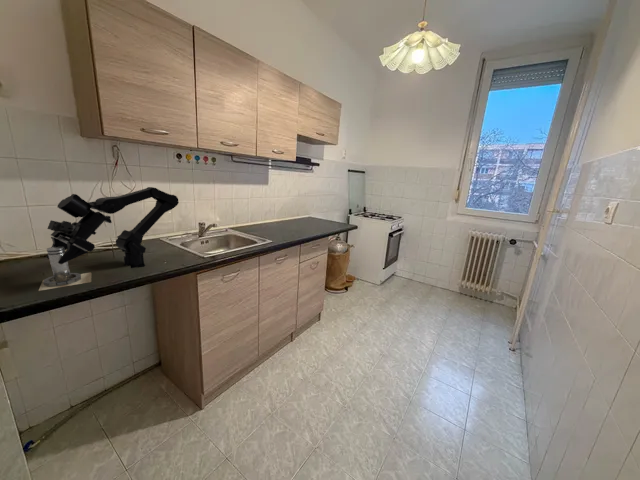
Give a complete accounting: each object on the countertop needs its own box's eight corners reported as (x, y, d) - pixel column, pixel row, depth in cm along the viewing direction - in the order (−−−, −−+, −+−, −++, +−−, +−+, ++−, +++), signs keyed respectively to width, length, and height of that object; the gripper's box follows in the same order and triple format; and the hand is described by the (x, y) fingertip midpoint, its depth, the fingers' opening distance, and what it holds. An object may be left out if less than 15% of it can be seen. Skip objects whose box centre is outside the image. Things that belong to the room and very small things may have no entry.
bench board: (91, 274, 99) (91, 272, 99) (91, 284, 91) (91, 281, 91) (43, 282, 91) (43, 279, 91) (38, 293, 83) (38, 290, 83)
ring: (81, 274, 97) (81, 271, 97) (80, 282, 90) (80, 279, 90) (46, 279, 91) (45, 276, 91) (42, 288, 84) (41, 285, 84)
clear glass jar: (68, 277, 94) (61, 245, 90) (74, 279, 92) (66, 247, 88) (52, 281, 90) (44, 248, 87) (58, 284, 88) (49, 250, 85)
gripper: (53, 208, 92) (15, 244, 85) (77, 214, 84) (37, 254, 77) (84, 226, 101) (51, 260, 94) (108, 233, 93) (75, 270, 86)
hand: (53, 260), depth 88 cm, fingers open, 9 cm apart
